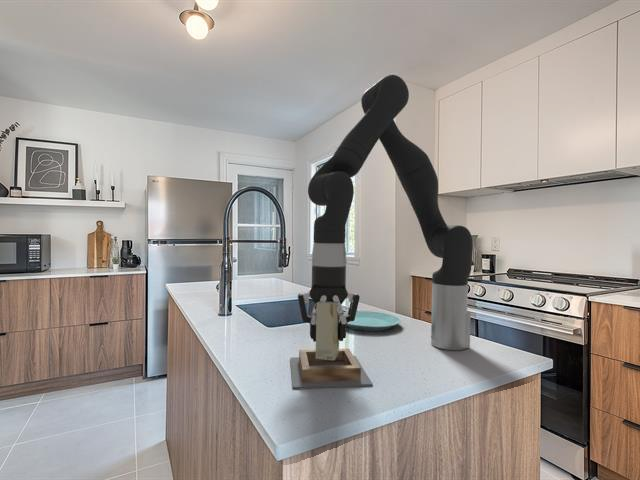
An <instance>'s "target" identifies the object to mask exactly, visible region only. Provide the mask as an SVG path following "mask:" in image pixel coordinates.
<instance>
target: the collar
mask: <svg viewBox="0 0 640 480" xmlns="http://www.w3.org/2000/svg"><path fill="white" fill-rule="evenodd" d="M354 356H355V355H353V353H352V351H351V349H350V348H339V352H338V355H337V357H336V359H335V360H334V361H333V360H324V359H316V348H315V349H299V350H298V357H299V363H300V370H301V377H302V382H322V381H349V380H361V367H360V366H359V364H358V362H357V361H356V359H355V357H354ZM339 361H344V362H345V364H346V366H318V367H309V363H308V362H339Z"/></svg>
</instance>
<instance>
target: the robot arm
mask: <svg viewBox="0 0 640 480" xmlns="http://www.w3.org/2000/svg"><path fill="white" fill-rule="evenodd" d="M409 94H410V91H409V88H408V85H407V83H406V82H405V80H404V79H403V78H402V77H400V76H399V75H396V74H389V75H386V76H384V77H383V78H381V79H379V80H377V81H376V82H375V83H374V84H373V85H371V86H370V87H369V88H367V89H366V90H365V91H364V92H363V94H362V96H361V108H362V111H363V113H364V116H362V117H361V119H360V120H359V121H358V122H357V123H356V124H355V125H354V126H353V127H352V128H351V130H350V131H349V132H348V133H347V134H346V135H345V137H344V138H343V139H342V141H341V143H340V144H339V145H338V147H337V149H336V150H335V152H334V154H333V155H332V156H331V157H330V158H329V159H328V160H327V161H326V162H325V163H324V164H323V165H322V166H321V167H320V168H319V169H318V170H317V171H316V172H315V173H314V175H313V176H312V177H311V179H310V180H309V184H308V185H307V186H308V188H307V195H308V198H309V200H310V201H311V203H313V204H314V205H316V206H320V207H322V206H323V207H325V210H324V213H323V215H320V216H318V217H317V218H315V220H314V222H313V245H312V253H311V287H310V290H309V292H304V293H301V292H299V293H298V294H297V300H298V306H299V309H300V315H301V318H302V322H304V323H309V337H310V339H311V340H312V341H313V342H315V343H316V312H317V302H325V301H328V302H334V303H337V312H338V315H339V320H340V322H339V336H338V338H339V342H343V341H344V339H346V337H347V326H346V324H347V323H348V322H350V321H354V320H355V316H356V311H358V306H359V303H360V295H359V294H357V293H356V292H353V293H351V292H349V291H347V287H346V285H347V281H346V280H347V279H346V278H347V263H348V261H347V249H346V225H347V221H348V218H349V214H350V211H351V208H352V203H353V200H354V192H355V188H354V183H353V181H352V178H353V177H355V176H356V175H357V174H358V173H359V172H360V171H361V169H362V167H363V166H364V164H365V163H366V161H367V158H368V157H369V155H370V153H371V152H372V150H373V149H374V147H375V145H376V144H377V142H378V141H380V143H381V145H382V147H383V148H384V150H385V152H386V154H387V156H388V158H389V160H390V162H391V164H392V167H393V169H394V171H395V173H396V176H397V179H398V180H399V182H400V184H401V186H402V189H403V191H404V192H405V194H406V196H407V198H408V201H409V203H410V205H411V207H412V209H413V212H414V213H415V216H416V218H417V221H418V224H419V226H420V229H421V233H422V234H423V238H424V241H425V243H426V246H427V248H428V251H430V253H431V254H432V255H433V256H435V257H437V258H440V259H442V260H441V261H442V262H441V266H440V268H439V269H437V270H436V271H434V272H433V273H432V277H431V278H432V279H431V282H432V283H431V331H430V334H431V335H430V338H431V339H430V344H431V345H432V346H434V347H436V348H437V349H438V348H439V349H442V350H447V351H463V350H465V349H470V348H471V312H469V311H468V297H469V296H468V293H469V292H468V289H469V287H468V286H469V285H468V283H469V278H470V275H471V272H472V266H473V265H472V264H473V254H474V253H473V251H474V244H473V241H474V240H473V235H472V234H471V231H470V230H469V229H468V228H467V227H465V226H463V225H454V224H453V225H448V224H447V223H446V221H445V220H444V217H443V215H442V212H441V210H440V207H439V179H438V176H437V172H436V170H435V168H434V166H433V164H432V162H431V160H430V158H429V156H428V155H427V153H426V152H425V151H424V150H423V149H422V148H421V147H419V146H418V145H416V144H415V143H414V142H412V141H411V140H409V139H408V138H407V137H406V136H405V135H404V134H403V133H402V132H401V130H400V129H399V128H398V125H397V124H396V122H395V118H396V117H397V116H398V115H399V114H400V113H401V111H403V110H404V108H405V107H406V106H407V104H408V101H409V98H410V95H409ZM309 298H311V300H312V303H314V307H313V309H312V312H311V315H309V314H308V313H307V307H306V304H307V303H308V301H309ZM346 299H348V303H349V306H348V307H349V308H348V311H347V312H348V315H346V316H345V315H344V312H345V311H344V309H343V306H342V305H343V303H344V302H345V300H346Z"/></svg>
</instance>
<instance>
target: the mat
mask: <svg viewBox="0 0 640 480" xmlns="http://www.w3.org/2000/svg"><path fill="white" fill-rule="evenodd" d="M353 356H354V357H355V359H356V361H357V362H358V364H359V366H360V367H361V380H349V381H322V382H302V377H301V370H300V363H299V356H298V357H297V356H296V357H293V356H292V357H290V358H289V359H290V372H291V373H290V374H291V382H292V383H291V385H292V386H291V387H292V390H304V389H325V388H326V389H329V388H350V387H351V388H353V387H354V388H355V387H356V388H358V387H373V386H374V384H373V382H372V381H371V379H370V377H369V375H368V374H367V372H366V370H365V368H363V366H362V364H361V363H360V361H359V359H358V358H357V356H356V355H353ZM308 363H309V367H318V366H346V364H345V362H344V361H339V362H308Z"/></svg>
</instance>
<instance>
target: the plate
mask: <svg viewBox="0 0 640 480" xmlns="http://www.w3.org/2000/svg"><path fill="white" fill-rule="evenodd" d="M343 312H344V315H345V316H346V315H348V311H343ZM339 322H340V320H339ZM401 322H402V319H401V318H400V317H399V316H397V315H394V314H391V313H386V312H382V311H372V310H357V311H356V316H355V320H354V321H350V322H348V323H347V324H346V327H347V326H348V328H349V327H350V329H352V328H353V330H358V331H365V332H366V331H367V332H368V331H369V332H378V331H379V332H380V331H385V330H388V329H390V328H392V327H394V326H396V325H399V324H401Z"/></svg>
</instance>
